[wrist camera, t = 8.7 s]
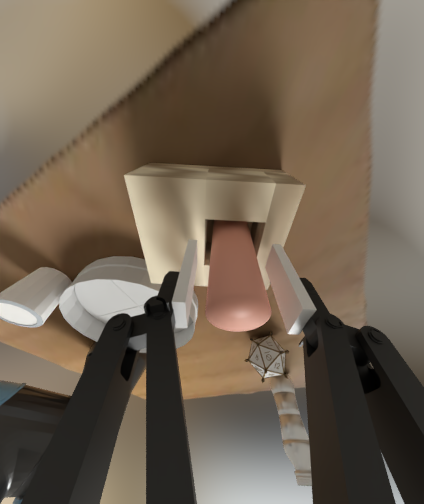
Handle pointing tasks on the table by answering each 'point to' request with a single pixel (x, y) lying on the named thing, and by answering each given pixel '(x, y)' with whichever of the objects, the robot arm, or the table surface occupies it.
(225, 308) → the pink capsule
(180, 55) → the table surface
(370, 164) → the table surface
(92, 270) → the dish
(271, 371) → the game die
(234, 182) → the birch block
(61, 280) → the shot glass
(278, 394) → the plastic bottle
